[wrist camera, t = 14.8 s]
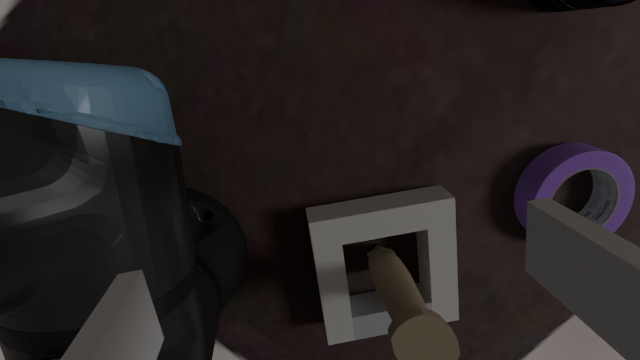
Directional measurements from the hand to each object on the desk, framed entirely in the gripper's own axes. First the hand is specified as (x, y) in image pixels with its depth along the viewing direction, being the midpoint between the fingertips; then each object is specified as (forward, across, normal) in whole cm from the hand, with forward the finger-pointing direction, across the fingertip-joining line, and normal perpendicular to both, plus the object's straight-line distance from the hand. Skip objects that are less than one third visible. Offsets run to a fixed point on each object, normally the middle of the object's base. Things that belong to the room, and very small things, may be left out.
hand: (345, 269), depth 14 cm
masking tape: (+29, +29, -13) cm, 43 cm away
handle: (+29, +7, -17) cm, 34 cm away
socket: (+29, +7, -17) cm, 34 cm away
